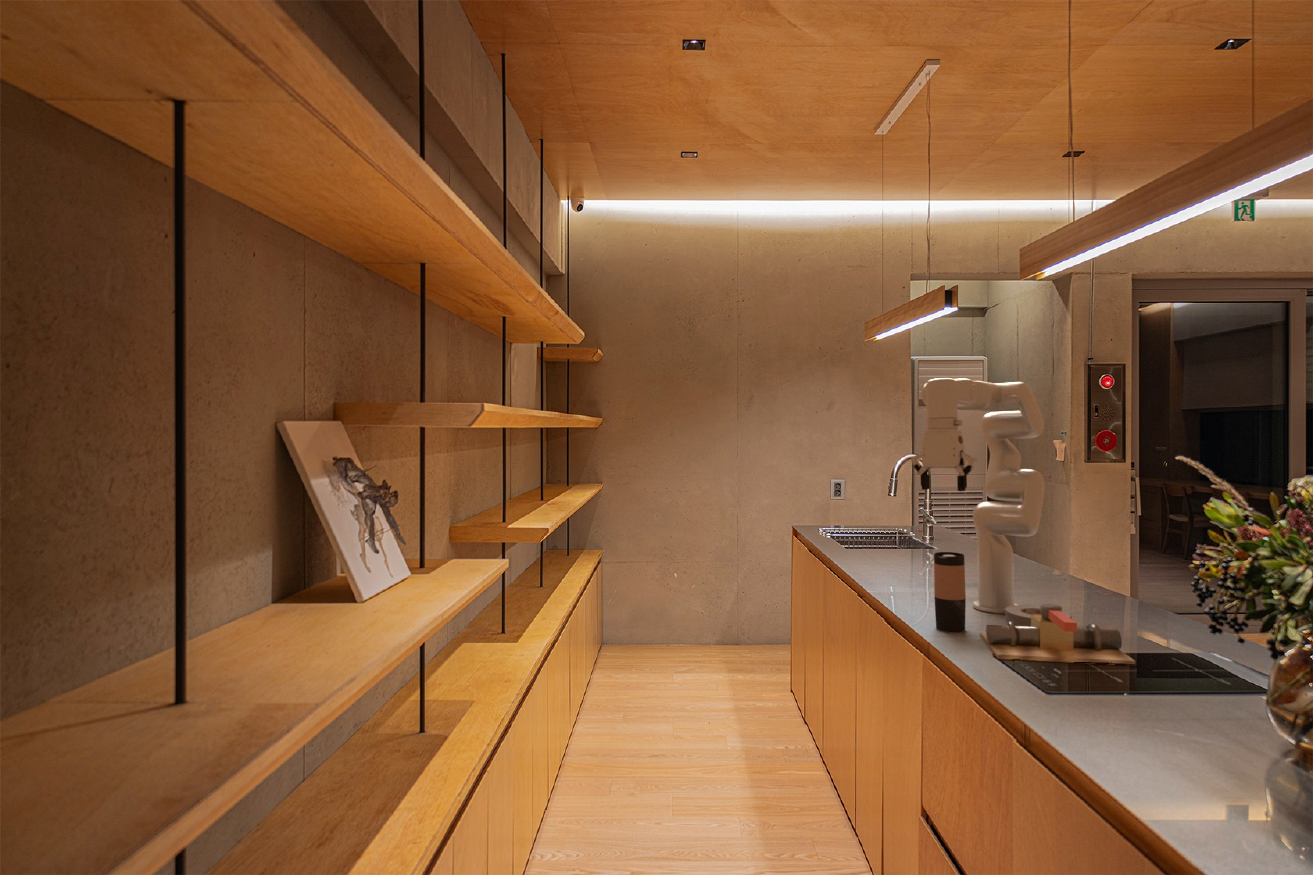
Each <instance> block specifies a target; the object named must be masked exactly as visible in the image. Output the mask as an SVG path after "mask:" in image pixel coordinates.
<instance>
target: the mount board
mask: <svg viewBox="0 0 1313 875" xmlns="http://www.w3.org/2000/svg"><path fill="white" fill-rule="evenodd" d="M979 637H980V639H981V640H982V642H984V643H985V645H986V646H987V647H988V648H989V650H990V651H991V652H992V654H994V656H995V657H996V658H997V659H998V660H1012V659H1020V660H1019V661H1033V660H1034V661H1033V662H1035V661H1037V662H1055V663H1056V662H1058V663H1074V662H1109V663H1111V662H1112V663H1127V664H1135V665H1136V660H1134V659H1133V658H1132V657H1130V656H1129V655H1127V654H1126V653H1125V652H1123V651H1122V650H1120V649H1104V648H1102V649H1101V651H1095V650H1094V649H1092V648H1082V647H1073V649H1074V651H1062V650H1040V649H1039V648H1038V647H1037V646H1036V645H1017V646H1016V647H1011V646H1010V645H1009V644H990V643H988V641H987V636H986V632H979Z"/></svg>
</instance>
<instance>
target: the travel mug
mask: <svg viewBox="0 0 1313 875" xmlns="http://www.w3.org/2000/svg"><path fill="white" fill-rule="evenodd" d="M933 563H934V564H933V573H934V574H933V580H934V581H933V582H934V583H933V584H934V593H933V594H934V610H935V611H934V612H935V614H934V615H935V629H937V630H938V631H940V632H944V633H949V634H951V633H952V634H959V633H963V632H965V631H966V607H967V606H966V604H967V602H966V600H967V599H966V596H967V595H966V568H965V567H966V566H965V565H966V564H965V554H963V553H962V552H961V553H959V552H953V551H940V552H939V551H938V552H934V554H933Z"/></svg>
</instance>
